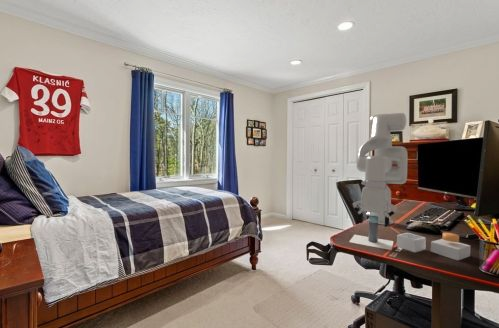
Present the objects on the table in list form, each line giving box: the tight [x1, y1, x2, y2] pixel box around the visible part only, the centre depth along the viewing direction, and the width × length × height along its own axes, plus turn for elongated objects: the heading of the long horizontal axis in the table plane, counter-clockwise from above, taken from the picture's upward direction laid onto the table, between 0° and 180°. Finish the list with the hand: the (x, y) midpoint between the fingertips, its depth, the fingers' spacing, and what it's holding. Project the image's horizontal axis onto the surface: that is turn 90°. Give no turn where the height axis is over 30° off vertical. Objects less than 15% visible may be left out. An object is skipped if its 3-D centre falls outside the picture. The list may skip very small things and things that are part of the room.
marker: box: [367, 215, 379, 243], centre depth 110 cm, size 4×4×11 cm
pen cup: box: [396, 232, 427, 254], centre depth 103 cm, size 7×7×5 cm
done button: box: [441, 232, 460, 243], centre depth 97 cm, size 5×5×2 cm
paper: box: [348, 234, 394, 251], centre depth 110 cm, size 16×12×1 cm
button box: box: [430, 238, 472, 261], centre depth 97 cm, size 9×9×4 cm
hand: (373, 224), depth 109 cm, fingers open, 9 cm apart
